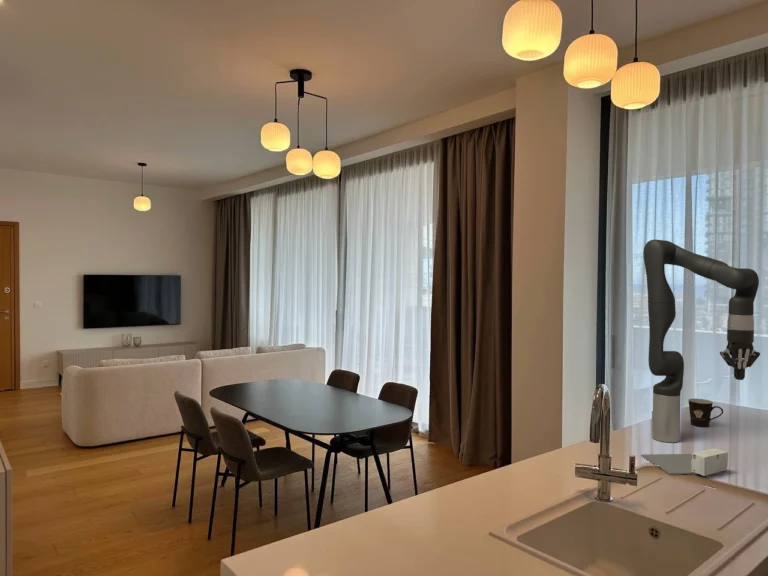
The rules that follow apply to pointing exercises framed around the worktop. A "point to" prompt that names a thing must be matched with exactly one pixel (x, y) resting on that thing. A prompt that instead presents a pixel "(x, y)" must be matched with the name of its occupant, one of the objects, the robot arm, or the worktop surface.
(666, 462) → the mat
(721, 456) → the skincare box
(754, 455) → the worktop surface
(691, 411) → the coffee mug
